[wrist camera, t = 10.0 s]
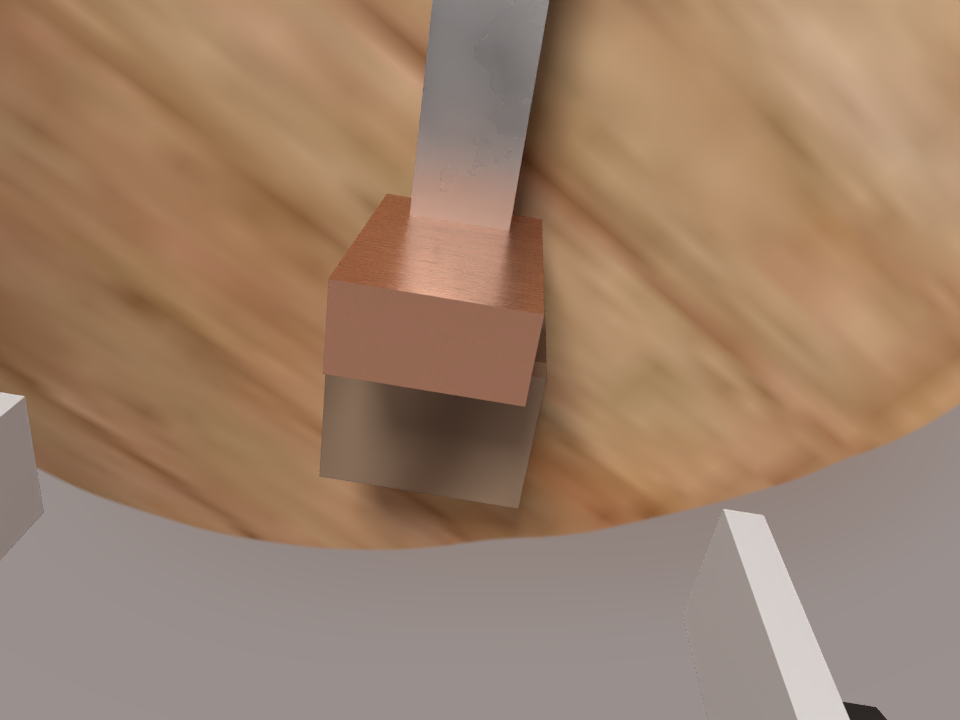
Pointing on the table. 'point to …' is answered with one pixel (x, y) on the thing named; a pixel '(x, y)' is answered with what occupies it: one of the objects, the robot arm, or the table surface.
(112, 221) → the table surface
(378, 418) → the socket
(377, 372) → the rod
